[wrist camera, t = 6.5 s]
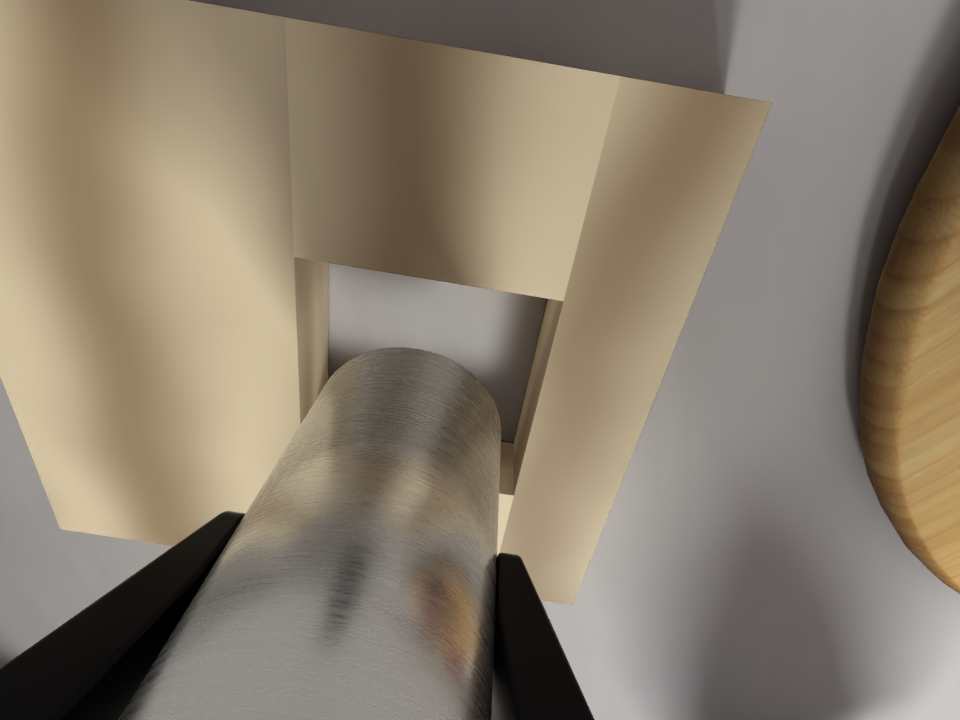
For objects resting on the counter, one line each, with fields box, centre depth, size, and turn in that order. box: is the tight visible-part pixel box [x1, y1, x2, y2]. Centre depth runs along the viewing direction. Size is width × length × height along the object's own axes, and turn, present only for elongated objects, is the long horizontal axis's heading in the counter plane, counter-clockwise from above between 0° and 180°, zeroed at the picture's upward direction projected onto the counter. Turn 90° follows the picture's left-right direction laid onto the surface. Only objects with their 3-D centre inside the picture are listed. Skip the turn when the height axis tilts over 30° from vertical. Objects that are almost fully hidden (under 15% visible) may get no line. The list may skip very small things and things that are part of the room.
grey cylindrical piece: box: [119, 348, 501, 720], centre depth 8 cm, size 5×5×10 cm
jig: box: [0, 0, 772, 605], centre depth 14 cm, size 18×16×2 cm
